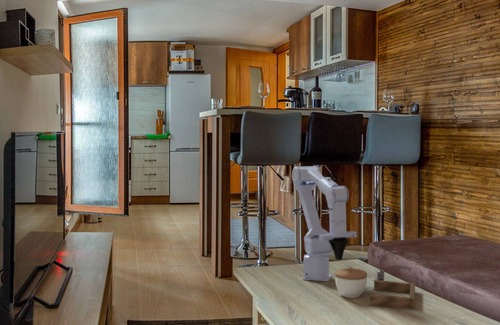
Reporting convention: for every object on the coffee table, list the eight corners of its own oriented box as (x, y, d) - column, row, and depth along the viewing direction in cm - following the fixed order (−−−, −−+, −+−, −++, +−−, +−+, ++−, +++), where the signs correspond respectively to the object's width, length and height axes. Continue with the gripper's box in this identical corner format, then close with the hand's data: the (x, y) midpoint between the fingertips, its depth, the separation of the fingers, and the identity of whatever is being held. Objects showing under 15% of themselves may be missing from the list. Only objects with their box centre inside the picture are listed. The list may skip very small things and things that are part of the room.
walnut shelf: (369, 304, 158) (369, 295, 158) (374, 288, 175) (374, 280, 175) (414, 308, 153) (414, 299, 153) (415, 291, 170) (415, 283, 170)
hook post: (376, 289, 173) (376, 272, 173) (377, 286, 178) (377, 269, 177) (383, 290, 172) (383, 273, 172) (384, 286, 177) (384, 270, 176)
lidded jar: (368, 291, 171) (368, 264, 171) (365, 301, 161) (365, 272, 161) (337, 289, 175) (337, 262, 175) (332, 298, 165) (332, 270, 164)
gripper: (327, 224, 168) (327, 264, 168) (361, 220, 174) (362, 259, 174) (315, 221, 174) (316, 260, 174) (349, 218, 180) (350, 255, 181)
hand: (338, 259), depth 175 cm, fingers closed
